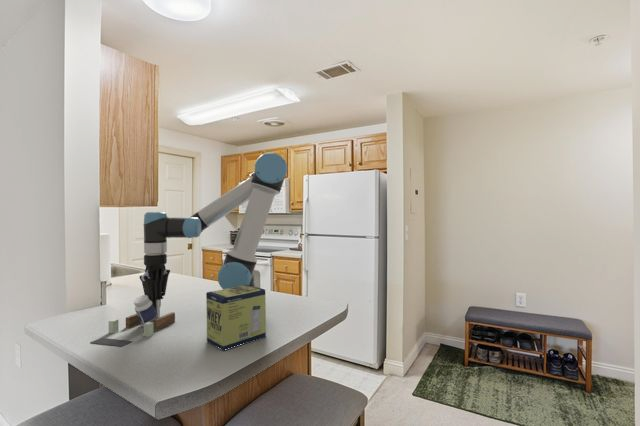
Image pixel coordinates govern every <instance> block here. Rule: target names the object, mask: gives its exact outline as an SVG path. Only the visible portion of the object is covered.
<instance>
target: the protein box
mask: <svg viewBox="0 0 640 426" xmlns="http://www.w3.org/2000/svg"><path fill="white" fill-rule="evenodd" d="M205 295H206V300H205V301H206V342H207V341H208V342H207V343H209V342H210V343H211V344H210V343H209V344H210V345H212V344H213V345H212V346H214V345H215V346H217V347H219V348H221V349H222V350H225V349H228V348H231V347H234V346H237V345H240V344H243V343H246V342H249V343H251V342H250V341H252V342H254V341H253V340H255V341H257V340H256V339H258V340H261V339H264V338H266V337H267V333H266V332H267V331H266V330H267V329H266V327H267V324H266V323H267V322H266V321H267V320H266V317H267V316H266V313H267V312H266V311H267V310H266V306H267V305H266V289H264V288H261V287H257V286H255V285H254V286H250V285H243V286H238V287H233V288H228V289H218V290H212V291H208V292H206V293H205ZM263 337H264V338H263ZM260 338H261V339H260ZM246 344H247V343H246ZM243 345H244V344H243ZM215 346H214V347H215ZM240 346H241V345H240ZM217 347H216V348H217ZM237 347H238V346H237ZM219 348H218V349H219ZM234 348H235V347H234ZM221 349H220V350H221ZM231 349H232V348H231ZM222 350H221V351H222ZM228 350H229V349H228ZM225 351H226V350H225Z"/></svg>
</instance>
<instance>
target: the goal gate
mask: <svg viewBox="0 0 640 426" xmlns="http://www.w3.org/2000/svg"><path fill="white" fill-rule="evenodd" d="M118 332H119V319H117V318H116V319H115V318H113V319H110V320H108V334H115V333H118ZM153 335H154V330H153V322H147V323H145V324H144V326H143V337H146V338H149V337H151V336H153Z"/></svg>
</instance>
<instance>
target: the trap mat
mask: <svg viewBox="0 0 640 426" xmlns="http://www.w3.org/2000/svg"><path fill="white" fill-rule="evenodd" d="M89 343H90V344H93V345H96V344H97V345H103V346H110V347H111V346H112V347H120V348H121V347H124V346H126V345H128V344H130V343H133V340H127V339H126V340H125V339H119V338H118V339H116V338H107V337H99V338H98V339H95V340H93V341H90V342H89Z"/></svg>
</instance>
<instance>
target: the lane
mask: <svg viewBox="0 0 640 426" xmlns="http://www.w3.org/2000/svg"><path fill="white" fill-rule="evenodd" d="M175 322H176V313H175V312H173V311H171V312H169V313H166V314H164V315H162V316H160V317H159V318H157V319H155V320H153V331H159V330H162V329H164V328H166V327H168V326H171V325H172V324H173V323H175ZM140 324H141V322H140V320H139V318H138V315H137V313H134V314H132V315H129V316H127V317H125V328H127V329H130V328H132V327H136V326H137V325H140Z"/></svg>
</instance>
